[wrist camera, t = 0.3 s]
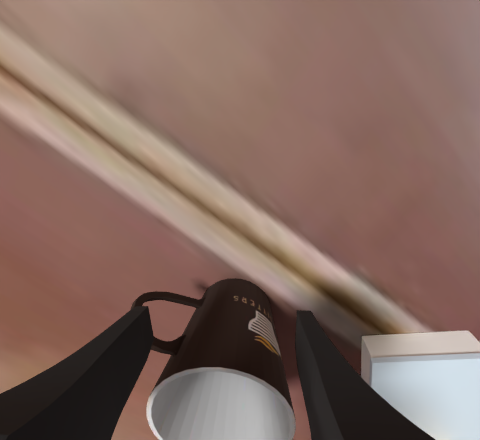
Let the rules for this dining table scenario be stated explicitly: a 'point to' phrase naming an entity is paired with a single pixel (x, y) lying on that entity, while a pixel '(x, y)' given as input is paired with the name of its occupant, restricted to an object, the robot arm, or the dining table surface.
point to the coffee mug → (222, 370)
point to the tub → (415, 346)
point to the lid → (432, 392)
